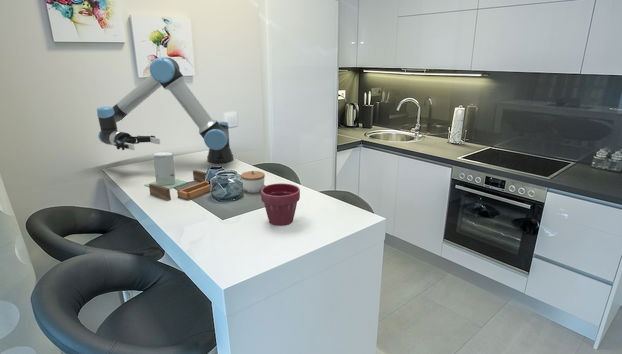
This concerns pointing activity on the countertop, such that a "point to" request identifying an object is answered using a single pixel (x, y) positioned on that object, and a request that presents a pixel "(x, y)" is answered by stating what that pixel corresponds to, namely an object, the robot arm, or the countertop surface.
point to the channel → (165, 192)
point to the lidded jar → (253, 181)
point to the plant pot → (280, 202)
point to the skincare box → (164, 168)
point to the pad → (177, 183)
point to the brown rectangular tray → (194, 191)
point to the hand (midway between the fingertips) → (146, 144)
